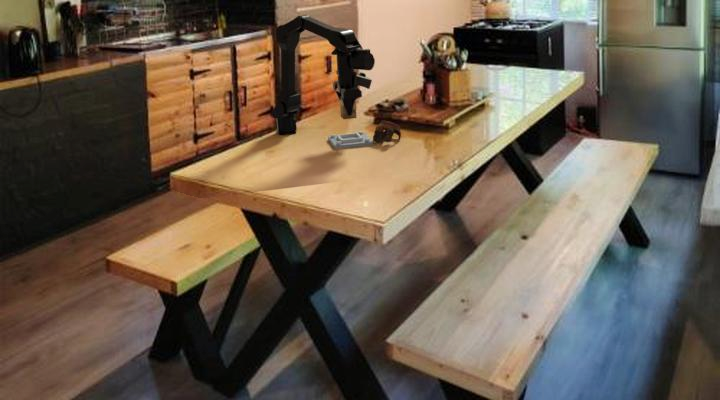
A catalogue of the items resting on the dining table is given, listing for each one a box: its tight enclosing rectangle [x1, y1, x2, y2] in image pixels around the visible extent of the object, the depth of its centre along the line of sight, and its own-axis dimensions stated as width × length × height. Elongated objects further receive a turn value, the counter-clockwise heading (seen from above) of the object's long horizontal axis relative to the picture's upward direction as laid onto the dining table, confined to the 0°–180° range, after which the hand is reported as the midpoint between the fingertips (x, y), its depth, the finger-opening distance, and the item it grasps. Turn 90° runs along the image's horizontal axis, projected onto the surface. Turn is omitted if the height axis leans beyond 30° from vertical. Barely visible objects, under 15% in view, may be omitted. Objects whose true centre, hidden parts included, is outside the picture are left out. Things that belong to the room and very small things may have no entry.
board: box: [327, 131, 374, 150], centre depth 261 cm, size 13×13×2 cm
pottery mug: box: [372, 119, 402, 145], centre depth 259 cm, size 12×10×8 cm
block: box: [339, 99, 358, 120], centre depth 257 cm, size 4×4×6 cm
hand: (348, 113), depth 258 cm, fingers closed on block, 4 cm apart
